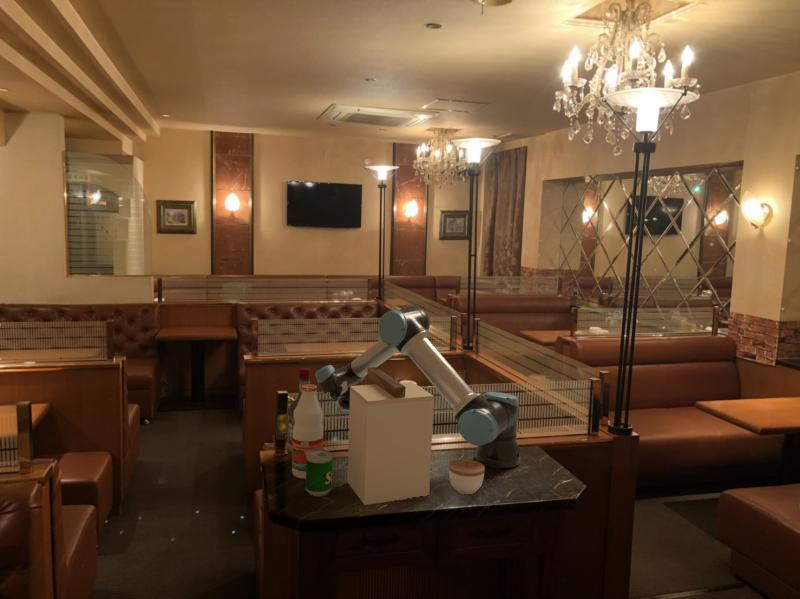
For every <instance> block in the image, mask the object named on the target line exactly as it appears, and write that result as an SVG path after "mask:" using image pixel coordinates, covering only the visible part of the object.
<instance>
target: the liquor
mask: <svg viewBox="0 0 800 599" xmlns="http://www.w3.org/2000/svg"><path fill="white" fill-rule="evenodd" d="M298 370H299V371H298V379H299V382H298V395H297V398H296V399H295V400H294V401H293V402H292V403H291V404H290V405H289V406H288V409H287V434H286V435H287V440H286V441H287V443H286V444H287V445H286V446H287V447H286V448H287V449H286V454H287V456H288V457H289V458H290V459H291V460H292V445H293V427H294V425H295V421H294V416H293V415H294V410H295V408H296V407H297V405H298V402H299V400H300V397H301V394H302V392H301V386H302V385H306V384H311V383H310V380H311V368H310V367H300V368H299V369H298Z"/></svg>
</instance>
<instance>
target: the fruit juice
mask: <svg viewBox="0 0 800 599" xmlns="http://www.w3.org/2000/svg"><path fill="white" fill-rule="evenodd" d="M317 391H318V386H317V385H315V384H311V383H310V384H306V385H302V386H301V392H302V394H301V397H300V400H299V402H298V405H297V407H296V408H295V410H294V415H293V416H294V421H295V425H294V427H293V445H292V459H291V472H292V475H293V476H294V477H295V478H298V479H304V480H306V456H307V454H308V453H309V452H310V451H312V450H314V449H324V427H323V424H322V421H323V419H324V411H323V408H322V407H321V405H320V402H319V399H318V396H317Z"/></svg>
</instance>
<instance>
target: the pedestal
mask: <svg viewBox="0 0 800 599" xmlns="http://www.w3.org/2000/svg"><path fill="white" fill-rule="evenodd" d="M400 383H401V384H402V385H404V386H405V387H406V388H405V397H401V398H395V397H393V396H392V395H391V394H389V393H388V392H387V391H385V390H384V389H383V388H381V387H380V386H379V385H377V384H376V383H374V384H364V385H363V384H360V385H359V384H358V385H351V386H349V387H350V409H349V414H348V415H349V416H348V417H349V418H348V419H349V420H348V448H347V450H348V451H347V452H348V453H347V455H348V456H347V481H346V482H347V484H348V485H349V487H350V488H351V489H352V490H353V491H354V493H355V494H356V496H357V497H358V498H359V500H360V501H361V502H362V504H363V505H364V506H368V505H375V504H381V503H387V502H394V501H395V500H396V501H401V500H407V498H409V499H413V498H412V497H416V498H420V497H419V496H423V497H428V496H427V495H429V496H430V487H431V486H430V485H431V466H432V464H431V462H432V445H433V443H432V442H433V441H432V440H433V421H434V404H435V402H434V401H435V400H434V397H435V396H434V395H433V394H432V393H430V392H428V391H426V390H425V389H423V388H422V387H421V386H419V385H417V384H416V383H414V382H413V381H405V382H403V381H402V382H400Z"/></svg>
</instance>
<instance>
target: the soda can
mask: <svg viewBox="0 0 800 599" xmlns="http://www.w3.org/2000/svg"><path fill="white" fill-rule="evenodd" d="M333 457H334V456H333V454H332V453H331V452H330V451H329V450H328V449H324V448H323V449H314V450H312V451H310V452H309V453H308V454H307V456H306V479H305V490H306V492H307V493H308V494H309V495H310V496H312V495H313V496H312V497H325V496H327V495H328V494H329V493H330V492H331V491H332V489H333V488H332V485H333Z"/></svg>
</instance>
